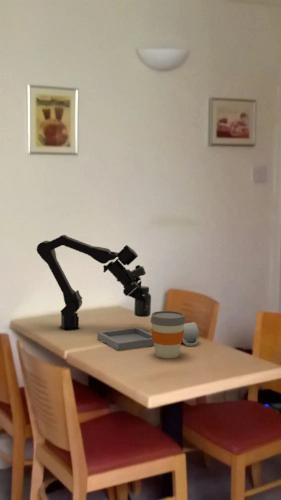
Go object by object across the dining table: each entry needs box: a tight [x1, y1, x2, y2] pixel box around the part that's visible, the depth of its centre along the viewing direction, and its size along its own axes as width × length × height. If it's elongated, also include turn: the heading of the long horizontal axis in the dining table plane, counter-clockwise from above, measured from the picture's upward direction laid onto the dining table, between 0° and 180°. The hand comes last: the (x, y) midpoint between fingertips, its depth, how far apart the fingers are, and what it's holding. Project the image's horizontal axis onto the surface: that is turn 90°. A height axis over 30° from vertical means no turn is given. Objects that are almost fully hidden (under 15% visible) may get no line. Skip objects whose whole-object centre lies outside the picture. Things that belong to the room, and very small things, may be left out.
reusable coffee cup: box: [150, 310, 186, 359], centre depth 234 cm, size 13×13×15 cm
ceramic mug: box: [181, 321, 200, 347], centre depth 250 cm, size 11×8×8 cm
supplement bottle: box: [133, 285, 152, 318], centre depth 266 cm, size 7×7×12 cm
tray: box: [96, 327, 154, 352], centre depth 251 cm, size 18×18×3 cm
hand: (146, 300), depth 266 cm, fingers closed on supplement bottle, 7 cm apart
